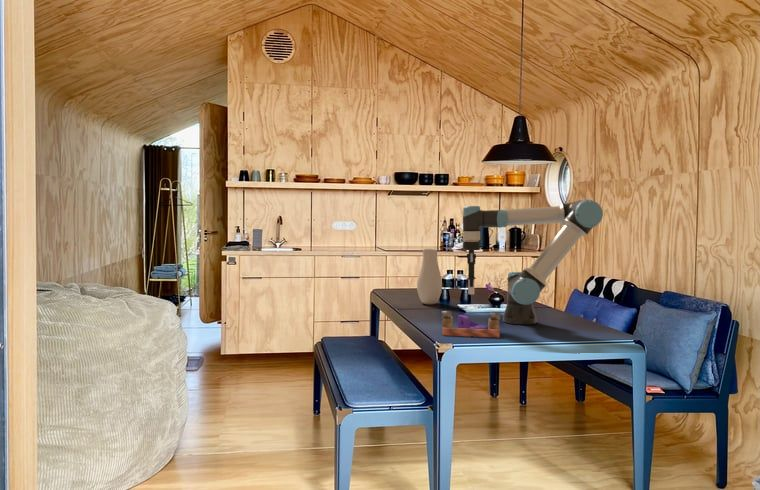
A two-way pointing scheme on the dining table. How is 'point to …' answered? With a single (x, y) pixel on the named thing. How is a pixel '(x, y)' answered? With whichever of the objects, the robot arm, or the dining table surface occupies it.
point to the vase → (429, 278)
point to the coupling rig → (490, 332)
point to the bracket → (468, 323)
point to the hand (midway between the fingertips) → (471, 294)
